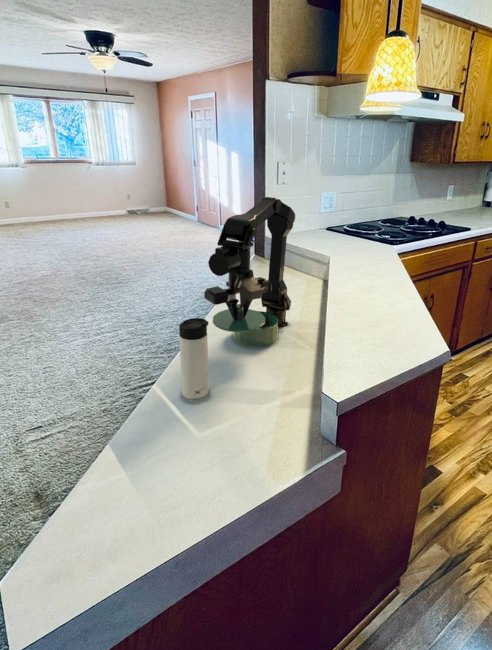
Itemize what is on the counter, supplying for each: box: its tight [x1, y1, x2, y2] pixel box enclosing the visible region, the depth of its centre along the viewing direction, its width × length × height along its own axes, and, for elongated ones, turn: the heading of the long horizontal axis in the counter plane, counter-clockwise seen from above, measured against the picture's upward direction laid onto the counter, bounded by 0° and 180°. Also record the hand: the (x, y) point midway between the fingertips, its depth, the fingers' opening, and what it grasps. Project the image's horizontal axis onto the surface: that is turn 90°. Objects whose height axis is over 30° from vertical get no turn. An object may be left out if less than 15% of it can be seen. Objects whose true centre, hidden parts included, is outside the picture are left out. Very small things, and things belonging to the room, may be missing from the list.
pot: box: [232, 310, 279, 348], centre depth 129 cm, size 14×14×6 cm
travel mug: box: [178, 317, 209, 402], centre depth 96 cm, size 6×7×20 cm
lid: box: [212, 303, 265, 333], centre depth 115 cm, size 15×15×5 cm
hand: (239, 318), depth 115 cm, fingers closed on lid, 3 cm apart
